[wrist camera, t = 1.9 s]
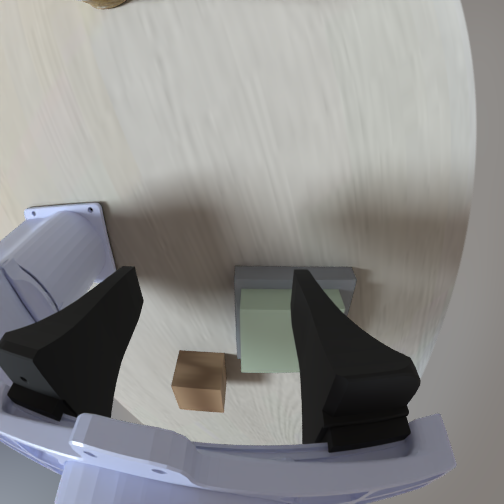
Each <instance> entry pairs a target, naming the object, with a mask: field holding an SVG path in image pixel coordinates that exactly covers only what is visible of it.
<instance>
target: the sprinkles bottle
mask: <svg viewBox="0 0 504 504" xmlns="http://www.w3.org/2000/svg"><path fill="white" fill-rule="evenodd" d="M78 1H83V2H86V3H89V4H91V5H92V6H93V7H95V8H98V9H109V8H112V7H116V6H118V5H120V4H121V3H123V2H125V1H126V0H78Z"/></svg>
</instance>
